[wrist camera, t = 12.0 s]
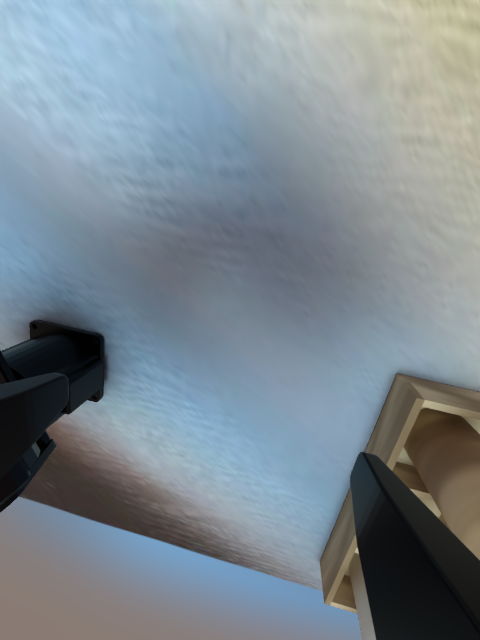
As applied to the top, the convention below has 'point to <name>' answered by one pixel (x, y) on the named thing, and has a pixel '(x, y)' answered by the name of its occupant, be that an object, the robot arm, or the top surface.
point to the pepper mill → (449, 470)
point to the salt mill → (361, 598)
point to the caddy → (388, 446)
